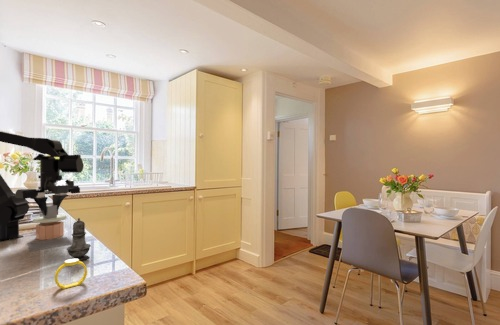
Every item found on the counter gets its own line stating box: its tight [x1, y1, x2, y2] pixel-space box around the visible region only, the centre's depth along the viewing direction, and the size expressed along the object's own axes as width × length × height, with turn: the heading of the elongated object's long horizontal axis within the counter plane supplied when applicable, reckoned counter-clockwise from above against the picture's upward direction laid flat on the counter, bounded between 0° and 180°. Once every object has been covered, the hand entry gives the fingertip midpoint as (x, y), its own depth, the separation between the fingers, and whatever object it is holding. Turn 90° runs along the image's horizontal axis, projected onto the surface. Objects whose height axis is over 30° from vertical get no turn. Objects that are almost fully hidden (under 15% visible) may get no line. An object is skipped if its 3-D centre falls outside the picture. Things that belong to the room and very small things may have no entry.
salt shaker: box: [66, 217, 92, 263], centre depth 75 cm, size 6×6×12 cm
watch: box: [54, 258, 88, 290], centre depth 59 cm, size 6×3×6 cm, turn 130°
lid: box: [32, 205, 68, 224], centre depth 97 cm, size 10×10×5 cm
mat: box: [27, 236, 73, 253], centre depth 88 cm, size 11×11×1 cm
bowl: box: [35, 220, 65, 241], centre depth 97 cm, size 8×8×5 cm
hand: (50, 214), depth 97 cm, fingers closed on lid, 3 cm apart
